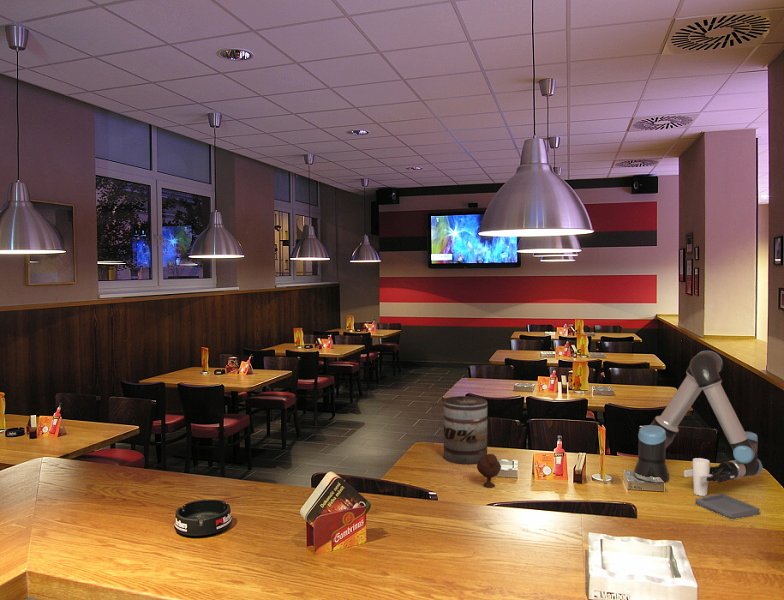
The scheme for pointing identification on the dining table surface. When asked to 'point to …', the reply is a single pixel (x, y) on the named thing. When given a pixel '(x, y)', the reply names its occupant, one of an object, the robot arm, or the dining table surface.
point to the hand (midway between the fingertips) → (692, 476)
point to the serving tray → (727, 506)
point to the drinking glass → (700, 469)
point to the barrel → (465, 429)
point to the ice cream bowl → (489, 468)
